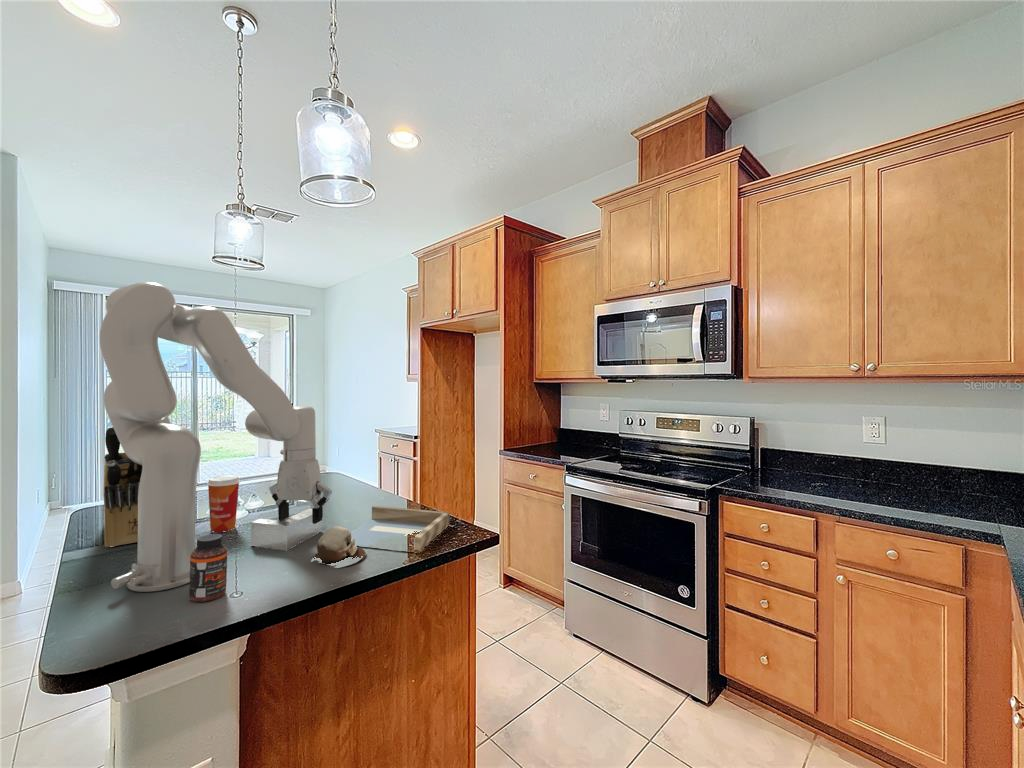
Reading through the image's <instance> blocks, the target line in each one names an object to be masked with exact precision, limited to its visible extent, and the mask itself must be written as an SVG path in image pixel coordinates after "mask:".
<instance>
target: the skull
mask: <svg viewBox="0 0 1024 768" xmlns="http://www.w3.org/2000/svg"><path fill="white" fill-rule="evenodd" d="M350 532H351V531H350V530H349V529H347V527H343V526H338V525H337V526H333V527H330V528H329V529H328V530H326V532H324V534H323V535H322V536H320V538H319V539H318V541H317V545H316V549H317V550H316V551H317V553H315V554H314V556H315V557H316V558H320V559H321V560H322V563H325V564H331V563H336V562H339V561H341V560H344V559H345V558H348V557H353V558H355V557H356V556H357V557H359V558H361V556H363V557H364V556H365V557H366V555H367V554H366V551H365V550H364V548H361V547H357V546H356V545H355V539H354V538H353V537H351V533H350ZM312 557H313V556H312ZM357 557H356V558H357ZM365 557H364V558H365ZM313 558H314V557H313ZM353 558H352V559H353ZM314 559H315V558H314ZM325 564H324V565H325Z"/></svg>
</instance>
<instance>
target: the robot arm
mask: <svg viewBox="0 0 1024 768" xmlns="http://www.w3.org/2000/svg"><path fill="white" fill-rule="evenodd" d="M105 310H106V313H105V315H104V318H103V320H102V323H101V326H100V330H99V345H100V351H101V356H102V357H103V361H104V363H105V367H106V369H107V373H108V375H109V378H110V379H111V381H110V382H109V383H108V385H107V386H106V388H105V390H104V391H103V392H104V393H103V405H104V408H105V411H106V413H107V416H108V418H109V420H110V423H111V426H112V427H113V428H114V430H115V433H116V435H117V437H118V439H119V442H120V447H121V448H122V450H123V453H126V455H127V456H128V457H129V458H130V459H131V460H132V461H133V462H135V463H137V464H139V465H142V474H141V478H140V483H139V490H138V542H137V550H136V551H137V556H136V557H137V560H136V562H134V563H132V564H131V569H130V570H128V572H127V573H125V574H121V575H118V576H116V577H114V578H112V579H111V581H110V585H111V587H112V588H113V589H114V590H115V589H118V588H120V587H123V586H126V587H127V588H128V589H129V590H131V591H133V592H138V593H139V592H140V593H142V592H144V593H145V592H146V593H148V592H150V593H151V592H159V591H164V590H169V589H174V588H178V587H181V586H184V585H187V584H190V556H191V553H192V551H193V550H194V549H196V511H197V510H196V509H197V507H196V506H197V480H198V479H197V478H198V472H199V467H200V461H201V456H202V447H201V442H200V440H199V438H198V437H197V436H196V434H195V433H194V432H193V431H191V430H190V429H188V428H186V427H184V426H182V425H177V424H173V423H171V420H170V418H169V417H170V416H171V415H172V414H173V413H174V411H175V410H176V407H177V403H178V402H177V401H178V400H177V399H178V398H177V393H176V391H175V389H174V386H173V384H172V382H171V379H170V377H169V374H168V371H167V369H166V366H165V364H164V361H163V358H162V355H161V352H160V348H159V344H158V343H159V339H162V340H165V341H168V342H169V341H170V342H172V343H177V344H180V345H185V346H190V347H191V346H192V347H195V348H196V349H197V351H198V353H199V354H200V356H201V357H202V359H203V360H204V362H205V363H206V365H207V366H208V368H209V369H210V371H211V372H212V374H213V376H214V377H215V379H216V380H217V381H218V383H220V384H221V385H222V386H223V387H225V388H226V389H227V390H228V391H231V392H232V393H234V394H236V395H237V396H239V397H241V398H242V399H244V401H246V402H247V403H248V404H249V405H250V406H251V407H252V409H253V410H252V411H250V412H249V413H248V414H247V416H246V418H245V422H244V426H245V429H246V431H247V432H248V433H249V434H250V435H252V436H253V437H256V438H260V439H265V440H270V441H276V442H282V443H283V444H282V445H283V448H281V449H280V451H279V452H280V454H281V455H283V459H281V460H280V462H279V465H278V466H279V467H278V472H277V480H276V483H275V484H273V485H271V486H269V488H268V490H269V492H270V495H271V497H272V499H273V500H274V502H275V505H276V506H278V507H277V508H278V511H277V512H278V513H277V514H278V520H279V521H282V520H284V519H286V518H289V517H290V503H289V501H294V502H310V503H311V505H313V506H312V507H313V508H311V509H312V523H313V524H316V523H318V522H320V521H321V520H322V521H323V517H324V514H323V512H324V511H323V506H325V505H326V503H327V502H328V501H329V500H330V497H331V494H332V493H333V490H332V489H331V488H330V487H328V486H326V485H325V484H323V483H322V476H321V475H322V474H321V468H320V463H319V459H317V456H316V455H317V452H316V449H317V447H316V442H317V441H316V439H317V438H316V410H315V409H314V408H313V406H307V405H306V406H305V405H304V406H303V405H301V406H300V405H297V406H296V405H294V406H293V404H292V402H291V401H290V399H289V398H288V397H289V396H288V395H287V394H286V393H285V391H284V390H283V389H282V388H281V386H280V385H278V384H277V383H276V382H275V380H273V379H272V378H271V377H270V376H269V375H268V373H267V372H265V371H264V370H263V369H262V368H261V367H260V366H259V365H258V364H257V362H256V361H255V359H254V358H253V356H252V354H251V353H250V351H249V349H248V348H247V347H246V346H247V345H245V343H244V341H243V340H242V338H241V336H240V334H239V333H238V331H237V329H236V327H235V326H234V323H232V321H231V320H230V318H229V317H228V316H227V314H226V313H225V312H223V311H222V310H221V309H219V308H217V307H213V306H199V307H198V306H197V307H188V306H185V305H182V304H178V303H176V299H175V297H174V295H173V293H172V292H171V291H170V289H169V288H167V287H166V286H165V285H163V284H159V283H157V282H153V281H151V282H150V281H144V282H142V281H141V282H137V283H136V282H135V283H132V284H129V285H126V286H122V287H120V288H118V289H115V290H114V291H111V293H110V294H109V295H108V297H107V298H106V301H105ZM322 494H323V495H322ZM321 495H322V496H321Z"/></svg>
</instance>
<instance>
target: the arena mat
mask: <svg viewBox="0 0 1024 768" xmlns="http://www.w3.org/2000/svg"><path fill="white" fill-rule="evenodd" d="M427 526H428V524H417V523H407V522H396V521H386V520H375V519H372V518H371V519H369V520H368V521H366V522H364V523H363V524H360V525H359V526H358V527H357V528H355V529H352V530H351V531H350V533H351V537H353V538H354V539H355V545H356V546H368V547H369V546H370V544H371V545H374V544H375V543H376V541H378V539H380V538H382V539H385V538H386V539H387V538H388V537H390V536H394V537H395V536H399V537H400V536H401V535H404V536H407V535H408V534H410V535H411V534H412V533H415V532H416V531H417V532H420V531H422V530H423V529H425V528H426V527H427ZM414 531H415V532H414ZM417 532H416V533H417ZM412 535H413V534H412ZM376 539H377V540H376ZM372 540H373V541H372ZM374 541H375V542H374ZM379 541H380V540H379ZM368 544H369V545H368ZM376 544H377V543H376ZM376 544H375V546H376Z"/></svg>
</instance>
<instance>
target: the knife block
mask: <svg viewBox="0 0 1024 768" xmlns="http://www.w3.org/2000/svg"><path fill="white" fill-rule="evenodd" d="M105 446H106V450H107V453H106V454H105V455H104V469H103V505H104V506H103V510H104V511H103V512H104V513H103V516H104V517H103V519H104V520H103V521H104V527H103V529H104V547H105V548H111V547H110V546H115V547H117V546H121V545H127V544H132V543H133V544H134V543H138V490H139V483H140V478H141V474H142V465H139V464H137V463H135V462H133V461H132V460H131V459H130V458H129V457H128V456H127V455H126V453H125V452H120V448H121V444H120V442H119V439H118V437H117V435H116V433H115V430H114V428H113V426H112V427H111V426H110V427H109V428H107V429H106V431H105Z"/></svg>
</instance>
